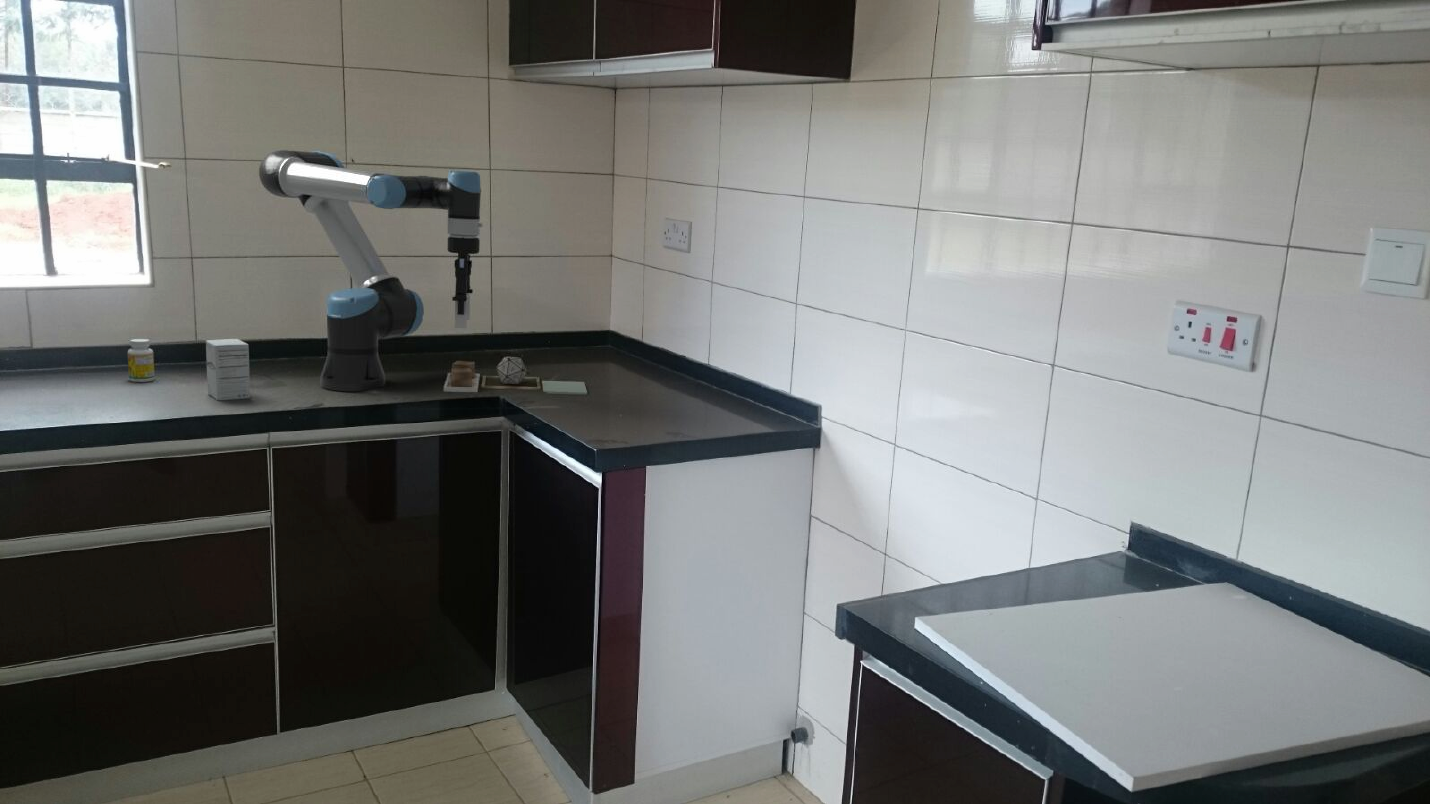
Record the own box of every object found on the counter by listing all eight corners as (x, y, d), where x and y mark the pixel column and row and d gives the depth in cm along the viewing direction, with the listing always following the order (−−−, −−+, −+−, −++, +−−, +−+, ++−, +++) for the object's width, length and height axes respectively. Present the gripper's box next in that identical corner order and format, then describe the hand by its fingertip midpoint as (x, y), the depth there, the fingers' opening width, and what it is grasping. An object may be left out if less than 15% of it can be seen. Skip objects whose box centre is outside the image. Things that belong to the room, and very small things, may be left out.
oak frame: (481, 390, 266) (481, 386, 265) (482, 379, 279) (483, 375, 278) (540, 391, 268) (540, 388, 268) (539, 381, 281) (539, 377, 281)
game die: (517, 398, 276) (540, 368, 277) (508, 393, 267) (533, 362, 268) (490, 378, 277) (514, 348, 278) (481, 372, 269) (505, 341, 270)
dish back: (446, 385, 269) (446, 379, 268) (448, 378, 276) (448, 372, 276) (478, 386, 270) (478, 379, 270) (479, 379, 278) (479, 373, 278)
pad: (543, 393, 267) (543, 391, 266) (541, 383, 279) (541, 380, 279) (587, 394, 269) (587, 392, 269) (583, 384, 281) (584, 381, 281)
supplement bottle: (154, 382, 251) (152, 342, 249) (128, 382, 249) (126, 342, 247) (154, 377, 256) (152, 338, 254) (129, 378, 253) (126, 338, 251)
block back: (451, 381, 271) (452, 363, 270) (457, 377, 276) (457, 360, 275) (469, 382, 271) (469, 365, 270) (474, 379, 275) (474, 362, 274)
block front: (453, 390, 261) (453, 372, 260) (451, 386, 265) (451, 368, 264) (471, 390, 262) (472, 372, 261) (469, 386, 267) (469, 368, 266)
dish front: (443, 393, 259) (443, 387, 259) (445, 386, 267) (445, 380, 267) (477, 394, 261) (477, 388, 260) (478, 387, 268) (478, 381, 268)
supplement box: (206, 394, 243) (204, 339, 240) (240, 391, 247) (239, 338, 245) (216, 401, 237) (214, 345, 234) (251, 398, 242) (249, 343, 239)
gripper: (477, 241, 245) (475, 332, 249) (481, 233, 269) (480, 316, 273) (443, 239, 243) (442, 331, 248) (451, 232, 267) (450, 315, 272)
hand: (462, 323), depth 260 cm, fingers open, 13 cm apart
